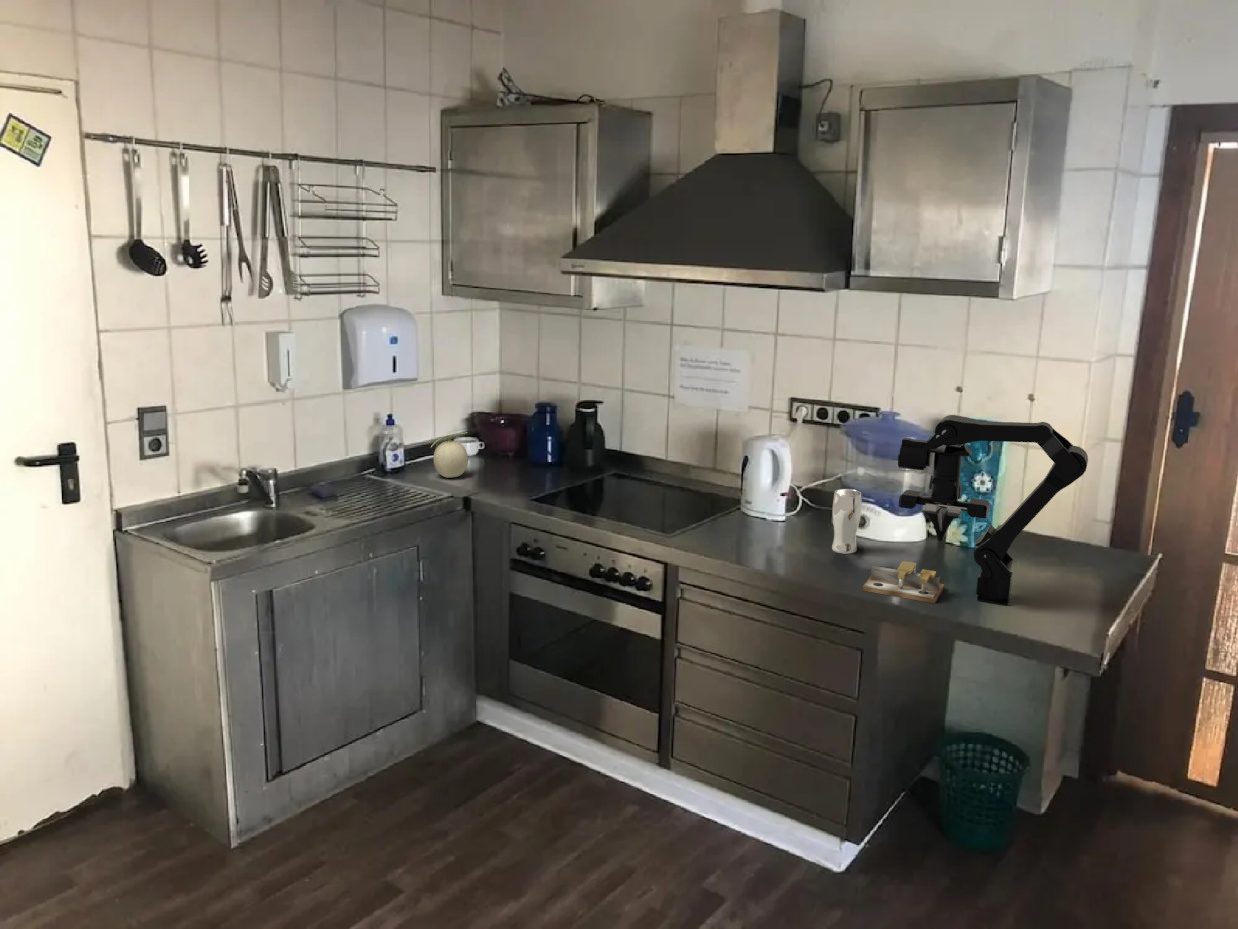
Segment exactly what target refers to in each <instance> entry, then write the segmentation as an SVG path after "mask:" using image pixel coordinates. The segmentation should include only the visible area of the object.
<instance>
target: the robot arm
mask: <svg viewBox="0 0 1238 929" xmlns="http://www.w3.org/2000/svg"><path fill="white" fill-rule="evenodd" d="M974 442H1003V443H1004V442H1005V443H1007V442H1009V443H1010V442H1011V443H1032V444H1033V443H1036V444H1037V445H1038V446H1039V447H1040V448H1041V450H1043V451H1044V452H1045V454H1046V455H1047V456H1048V457H1049V459H1050V460H1051V461H1052V462H1053V464H1052V465H1051V467H1050V469H1049V470H1048V472H1047V474H1046V475H1045V477H1044V478H1043V479H1042V480H1041V482H1040V483H1039V484H1038V485H1037V486H1036V487H1035V488H1034V489H1033V491H1031V492H1030V494H1029V495H1027V497H1026V498H1025V499H1024V500H1023V501H1022V502H1021V504H1020V505H1018V507H1017V508H1016V509H1015V510H1014V511H1013V512H1012V513H1011V514H1010V515H1009V517H1008V518H1007V519H1005V521H1004V522H1003V523H1002V524H1000V525H999V526H997V527H996V528H995V527H994V526H993V525H992V524H990V525H989V526H988V528H987V529H986V531H985V532H984V533H982V534H980V535H979V536H978V538H977V540H976V542H975V543H974V544H975V545H974V546H975V549H974V551H973V559H974V561H975V563H976V564H977V565H978V566H979V567H980V569H981V571H980V574H978V577H977V582H976V589H975V590H976V592H975V594H976V595H977V596H976V600H977V601H978V602H979V601H980V602H986V603H990V604H996V605H1003V606H1008V605H1009V603H1010V601H1011V598H1012V595H1013V594H1012V592H1011V591H1012V582H1013V575H1014V572H1013V571H1012V567H1013V564H1014V562H1015V559H1013V557H1012V556H1011V555H1010V554H1009V553H1008V551H1009V548H1010V547H1011V546H1012V544H1013V542H1014V540H1015V539H1016V538H1017V537H1018V535H1020V533H1021V532H1022V531H1024V529H1025V528H1026V527H1027V526H1028V525H1029V524H1030V523H1031V522H1032V521H1033V520H1034V518H1035V517H1036V516H1037V515H1038V514H1039V513H1040V512H1041V511H1042V510H1043V509H1044V508H1045V507H1046V506H1047V505H1048V504H1049V502H1050V501H1051V500H1052V499H1053V498H1054V497H1055V496H1056V495H1057V494H1058V493H1059V492H1060V491H1063V489H1065V488H1067V487H1068V486H1070V485H1072V484H1073V483H1074V482H1076V481H1077V480H1078V479H1079V478H1081V477H1083V475H1084V474H1085V472H1086V471H1087V466H1088V463H1089V456H1088V453H1087V452H1086V451H1085V450H1084V448H1082V447H1080V446H1078V445H1074V444H1072V443H1071V442H1070V441H1069V440H1068V439H1067V438H1066V437H1065V436H1064V435H1062V434H1061V433H1059V432H1058V431H1057V430H1055V428H1053V427H1052V425H1051V424H1050V423H1048V422H1046V421H1040V422H1021V421H1020V422H1018V421H1017V422H1011V421H1010V422H1009V421H982V420H977V419H974V418H971V417H966V416H962V415H956V414H948V415H946V416H945V417H943V418H942V419H941V420H940V421H939V422H938V423H937V425H936V427H935V429H934V435H931V436H930V437H929V438H928V439H927V440H922V439H914V438H910V437H903V438H902V439H901V445H900V448H899V453H898V457H897V468H899V469H907V470H916V471H923V472H925V471H926V469H927V467H928V468H931V467H932V463H933V470H932V475H931V476H930V480H929V484H928V488H929V490H930V491H931V492H930V493H931V494H930V497H929V496H923V493H922V491H918V490H913V489H912V490H911V489H905V491H903V492H902V493H901V494H900V495H899V498H898V507H899V508H903V509H910V510H913V509H914V508H915V507H917V505H919V506H925V510H924V515H927V516H928V517H929V519H930V521H931V523H932V525H933V528H934V531H935V535H936V537H937V540H938V541H939V542H943V541H944V540H945V537H946V534H947V532H948V530H949V527H950V525H951V523H952V522H953V520H954V519H959V518H960V516H961V515H962V512H963V511H966V513H967V515H968V516H969V517H970V518H975V519H976V518H977V519H987V517H988V515H989V513H990V510H991V503H990V501H989V500H988V499H983V498H981V499H980V498H973V497H972V498H971V499H969V500H970V501H969V502H968V501H959V500H960V499H961V495H962V489H963V484H962V483H961V482H960V481H961V480H960V478H961V470H962V459H963V458H962V457H967V458H968V457H970V455H972V453H973V450H972V449H970V448H969V447H968V445H967V444H970V443H974ZM942 446H945V447H944V448H943V447H942ZM933 454H934V455H933ZM943 509H946V512H945V514H944V515H943V516H942V514H943ZM942 517H943V518H942ZM942 519H943V521H942Z"/></svg>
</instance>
